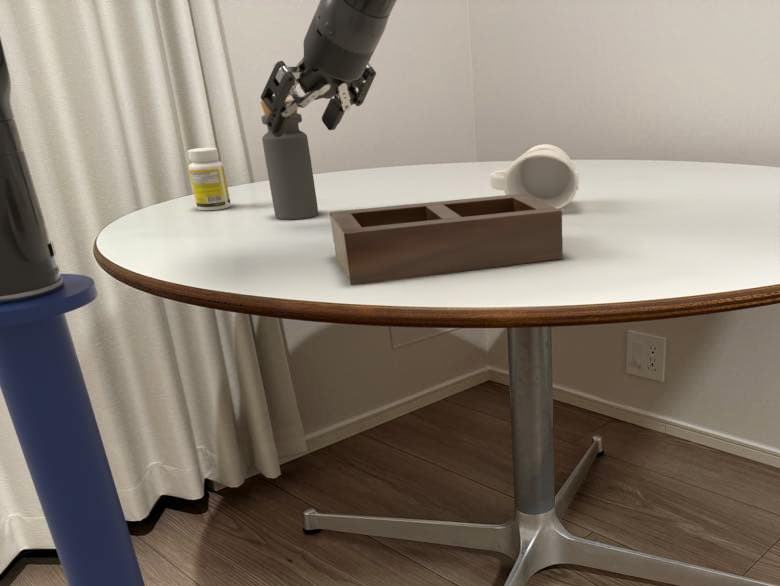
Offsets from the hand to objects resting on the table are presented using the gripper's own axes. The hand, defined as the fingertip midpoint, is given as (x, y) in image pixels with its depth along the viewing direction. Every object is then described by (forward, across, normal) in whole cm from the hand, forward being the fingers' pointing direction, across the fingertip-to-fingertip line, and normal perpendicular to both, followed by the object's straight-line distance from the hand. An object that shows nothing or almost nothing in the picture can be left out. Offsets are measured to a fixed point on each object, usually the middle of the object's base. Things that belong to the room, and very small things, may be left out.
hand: (301, 128), depth 103 cm
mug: (-8, -20, +25) cm, 32 cm away
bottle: (+11, 0, +6) cm, 12 cm away
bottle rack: (-14, +8, +31) cm, 35 cm away
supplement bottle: (+23, +2, -6) cm, 24 cm away
